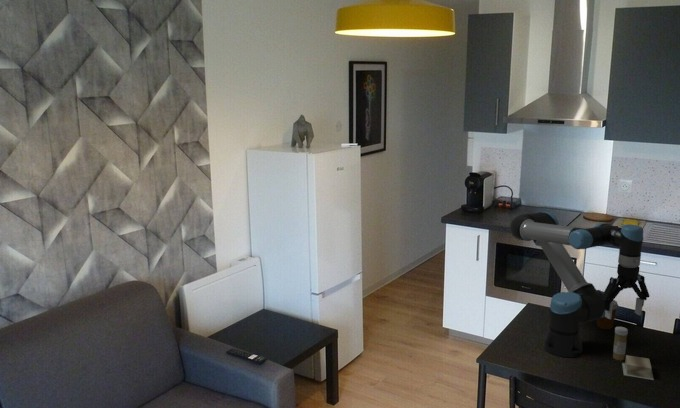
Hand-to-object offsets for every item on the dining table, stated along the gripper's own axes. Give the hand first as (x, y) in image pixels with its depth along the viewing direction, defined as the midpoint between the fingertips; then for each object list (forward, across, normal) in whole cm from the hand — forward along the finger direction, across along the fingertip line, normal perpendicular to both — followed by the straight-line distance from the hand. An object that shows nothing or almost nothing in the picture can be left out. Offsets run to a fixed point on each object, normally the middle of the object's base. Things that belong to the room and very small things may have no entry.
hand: (623, 316), depth 224 cm
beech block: (+18, -1, -11) cm, 21 cm away
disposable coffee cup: (+19, +15, +28) cm, 37 cm away
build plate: (+18, -1, -11) cm, 22 cm away
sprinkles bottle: (+19, 0, -1) cm, 19 cm away
